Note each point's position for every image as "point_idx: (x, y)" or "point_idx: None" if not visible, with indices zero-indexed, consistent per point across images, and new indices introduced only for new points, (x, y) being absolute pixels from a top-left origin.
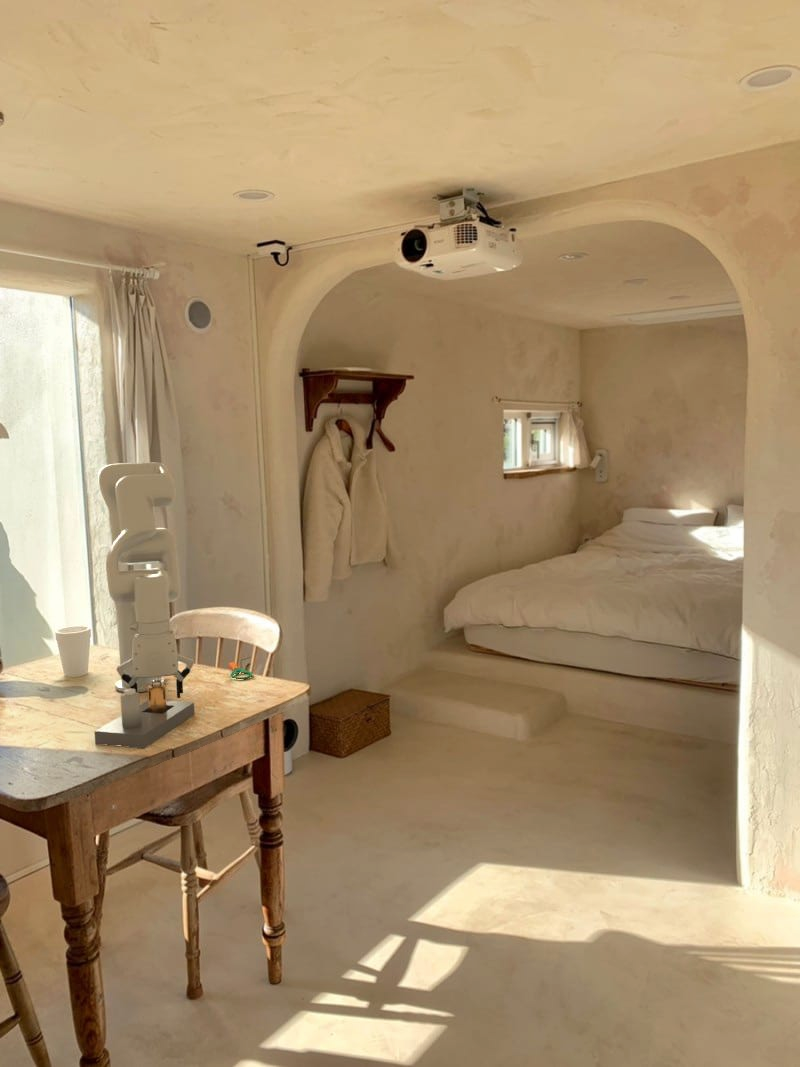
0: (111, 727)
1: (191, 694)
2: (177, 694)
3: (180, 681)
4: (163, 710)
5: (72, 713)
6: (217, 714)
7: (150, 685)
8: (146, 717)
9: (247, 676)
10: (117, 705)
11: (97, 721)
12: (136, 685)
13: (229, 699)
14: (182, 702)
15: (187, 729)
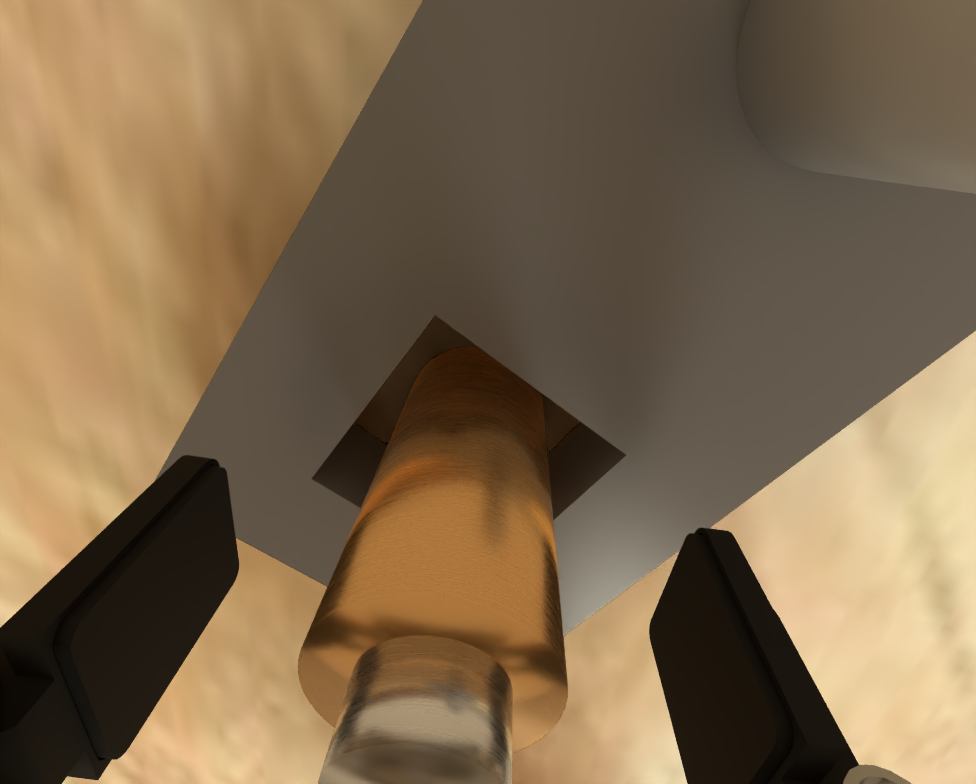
0: None
1: (262, 724)
2: (193, 488)
3: (8, 659)
4: (419, 407)
5: (913, 737)
6: (29, 358)
7: (515, 736)
8: (616, 270)
9: None
10: (657, 740)
11: (855, 583)
12: (762, 766)
13: (18, 587)
14: (250, 528)
15: (236, 74)
